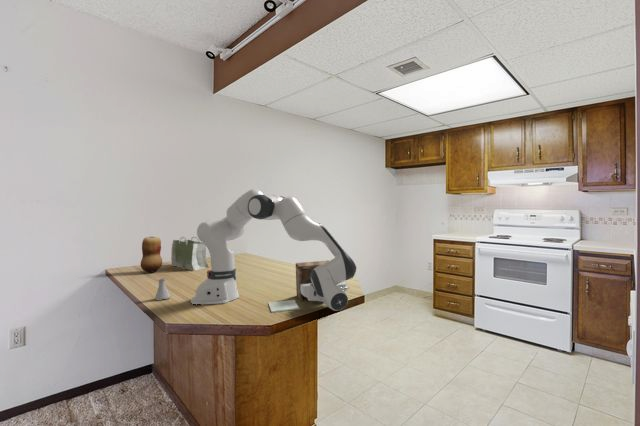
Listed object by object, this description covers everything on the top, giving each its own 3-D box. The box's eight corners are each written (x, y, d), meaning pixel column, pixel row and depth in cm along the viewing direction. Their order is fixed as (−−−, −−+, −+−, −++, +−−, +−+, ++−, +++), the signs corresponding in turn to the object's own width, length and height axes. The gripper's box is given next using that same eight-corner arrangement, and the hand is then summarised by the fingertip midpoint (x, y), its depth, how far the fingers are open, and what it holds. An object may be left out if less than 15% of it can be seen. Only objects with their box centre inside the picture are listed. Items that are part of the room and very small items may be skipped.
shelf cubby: (300, 300, 147) (298, 266, 147) (296, 295, 156) (295, 263, 155) (334, 297, 152) (333, 263, 151) (329, 292, 160) (328, 260, 160)
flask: (154, 302, 153) (153, 281, 152) (154, 298, 159) (153, 278, 159) (171, 299, 156) (170, 279, 156) (170, 295, 163) (169, 276, 162)
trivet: (271, 312, 133) (271, 311, 133) (268, 303, 144) (268, 302, 144) (299, 309, 136) (299, 307, 136) (294, 301, 147) (294, 299, 147)
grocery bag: (210, 267, 232) (209, 236, 232) (192, 271, 222) (191, 238, 221) (187, 263, 252) (186, 234, 252) (170, 266, 242) (169, 236, 241)
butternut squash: (156, 274, 216) (154, 237, 215) (137, 274, 216) (135, 238, 215) (166, 269, 230) (164, 235, 229) (148, 270, 230) (146, 236, 229)
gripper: (350, 281, 135) (340, 274, 149) (304, 286, 130) (297, 278, 143) (351, 295, 135) (340, 287, 149) (304, 301, 130) (298, 292, 144)
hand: (319, 283), depth 146 cm, fingers closed on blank, 4 cm apart
